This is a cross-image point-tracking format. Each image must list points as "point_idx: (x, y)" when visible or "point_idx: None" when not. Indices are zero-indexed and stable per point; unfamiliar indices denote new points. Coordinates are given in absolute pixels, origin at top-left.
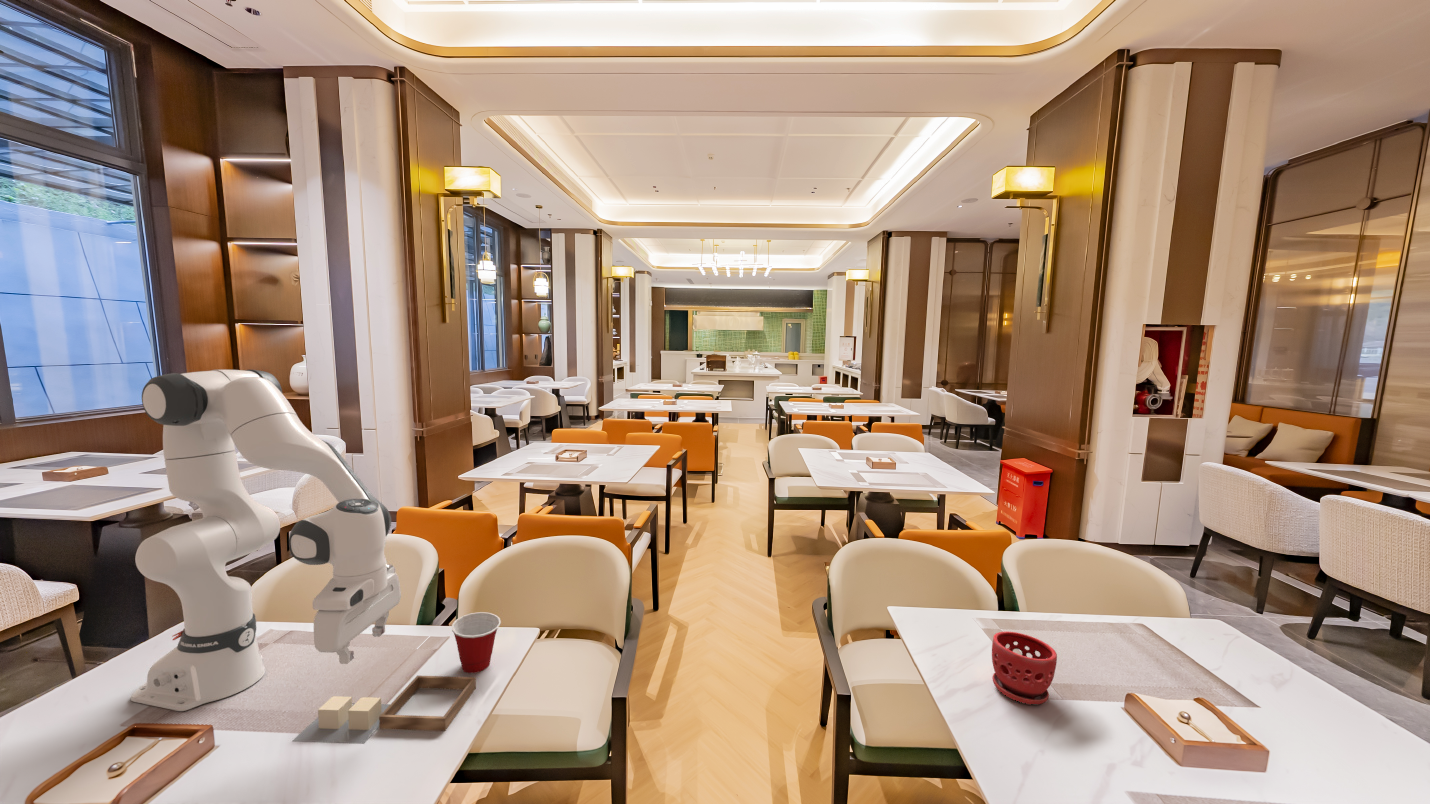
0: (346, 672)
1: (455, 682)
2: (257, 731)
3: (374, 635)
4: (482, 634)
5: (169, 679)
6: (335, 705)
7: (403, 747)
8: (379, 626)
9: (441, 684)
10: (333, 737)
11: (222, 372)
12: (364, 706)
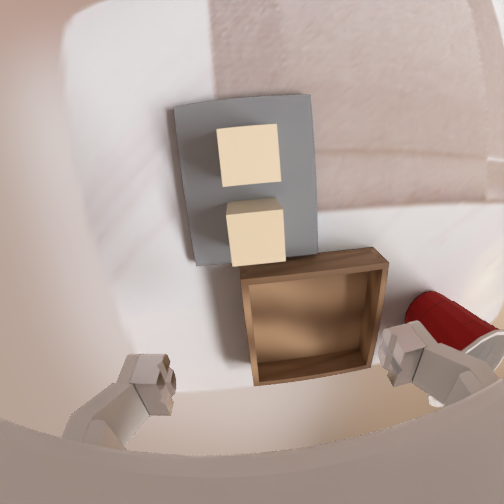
0: (414, 50)
1: (368, 334)
2: (207, 4)
3: (385, 334)
4: (431, 403)
5: None
6: (239, 163)
7: (214, 323)
8: (418, 366)
9: (369, 308)
10: (198, 189)
11: None
12: (247, 245)
